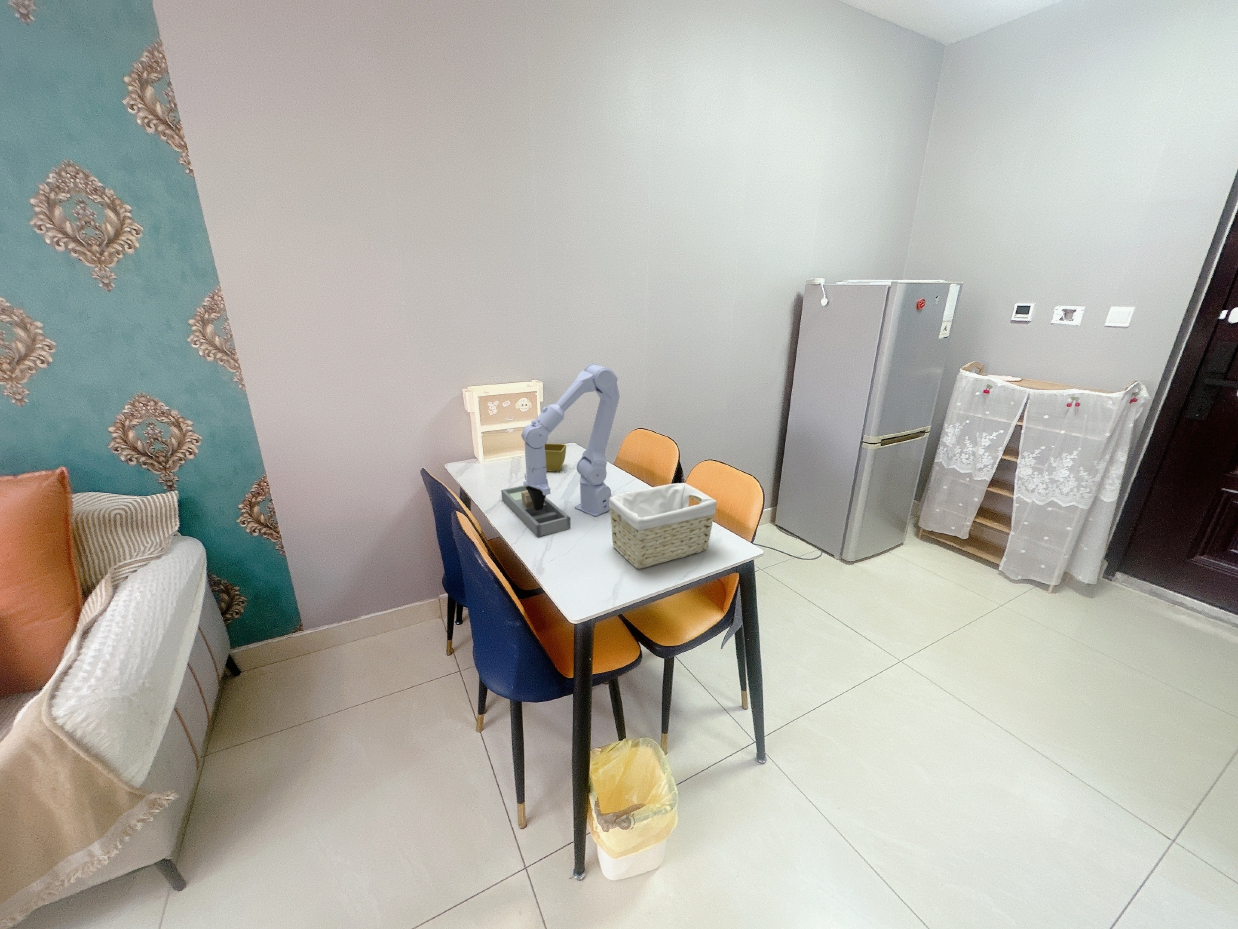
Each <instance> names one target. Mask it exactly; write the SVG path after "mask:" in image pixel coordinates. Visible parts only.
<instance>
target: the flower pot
mask: <svg viewBox="0 0 1238 929" xmlns="http://www.w3.org/2000/svg"><path fill="white" fill-rule="evenodd" d="M566 452H567V444H564V443H563V444H562V443H546V444H545V456H546V472H557V473H558V472H560V470H561V469H562V467H563V465H564V463H565V459H566V454H567V453H566Z"/></svg>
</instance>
